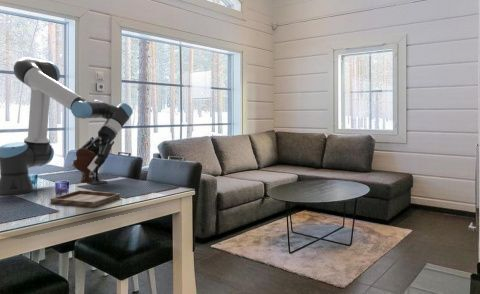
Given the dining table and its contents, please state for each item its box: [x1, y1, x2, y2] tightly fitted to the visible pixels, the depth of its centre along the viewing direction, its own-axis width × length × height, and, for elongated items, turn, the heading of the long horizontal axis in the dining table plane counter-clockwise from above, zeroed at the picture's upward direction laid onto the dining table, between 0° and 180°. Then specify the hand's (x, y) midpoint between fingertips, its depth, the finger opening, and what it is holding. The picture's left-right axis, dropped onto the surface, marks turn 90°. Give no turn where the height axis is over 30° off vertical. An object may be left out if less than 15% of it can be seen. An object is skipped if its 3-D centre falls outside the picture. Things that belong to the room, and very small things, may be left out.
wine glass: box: [86, 147, 108, 186], centre depth 205 cm, size 10×10×20 cm
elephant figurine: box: [79, 165, 102, 181], centre depth 218 cm, size 8×14×15 cm
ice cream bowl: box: [72, 147, 99, 184], centre depth 163 cm, size 11×11×15 cm
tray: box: [50, 189, 121, 209], centre depth 165 cm, size 22×18×2 cm
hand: (81, 168), depth 161 cm, fingers closed on ice cream bowl, 11 cm apart
